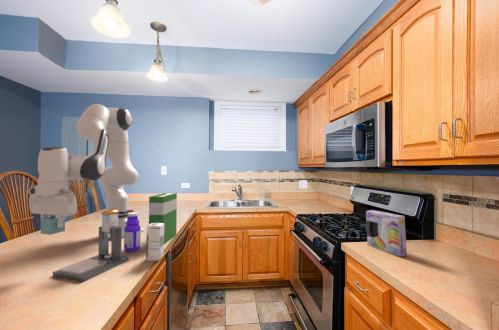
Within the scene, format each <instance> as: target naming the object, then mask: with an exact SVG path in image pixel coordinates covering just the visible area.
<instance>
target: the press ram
mask: <svg viewBox="0 0 499 330" xmlns="http://www.w3.org/2000/svg"><path fill="white" fill-rule="evenodd" d="M118 213H119V210H118V209H110V210H107V209H104V210H101V212H100V215H101V217H102V219H101V220H102V221H101V222H102V223H101V226H102V231H103V232H107V241H109V242H111V233H112V228H114V227H118Z"/></svg>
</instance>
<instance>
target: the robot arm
mask: <svg viewBox="0 0 499 330" xmlns="http://www.w3.org/2000/svg"><path fill="white" fill-rule="evenodd" d="M132 122H133V118H132V114H131V112H130V111H129V110H128V109H126V108H122V107H120V108H117V107H106V106H105V105H103V104H99V103H94V104H90V105H89V106H88V107H87V108H86V109H85V110H84V111H83V113H82V114H81V116H80V117H79V119H78V121H77V123H76V131H77V133H78V134H79V135H80V136H81V137H82V138H83V139H85V140H86V141H89V142H92V143H94V145H93V151H92V153H91V154H89V155H86V156H83V155H81V156H80V155H79V156H78V155H77V156H76V155H73V154H70V153H69V152H68V149H67V148H66V147H64V146H62V145H61V146H60V145H59V146H55V145H54V146H44V147H43V148H41V149H40V151H39V154H38V159H37V172H38V179H37V185H34V186H33V187H30V188H28V195H29V198H28V199H29V200H28V201H29V202H28V205H29V211H30V213H31V214H35V215H37V214H38V215H40V219H41V218H46V217H50V215H56V216H57V218H58V221H57V223H55V227H58V228H60V227H63V222H64V220H65V221H66V219H67V217H71V216H75V215H76V214H77V213H78V203H77V199H76V198H77V197H76V196H75V193H74V192H73V191H72V190H71V189H69V180H73V181H74V180H77V181H78V180H85V181H97V180H98V182H99V183H100V184H101V186H102V188H103V190H104V193H105V198H106V210H110V209H118V210H119V213H118V227H122V230H121V239H122V238H124V229H125V227H126V221H127V219H128V213H131V212H135V209H129V208H130V204H129V203H130V201H129V200H130V197H129V195H128V193H127V192H126V191H125V190H124V187H131V186H133V185H136V184H137V182H138V180H139V176H140V174H139V173H138V172H139V171H137V169H135V167H134V166H133V164H132V161H131V159H130V151H129V150H130V149H129V147H130V145H129V142H130V141H129V133H128V129H129V128H130V127H131V125H132ZM107 158H108V159H109V161H110V162H111V165H112V166H109V167H106V159H107ZM139 226H140V228H141V232H143V231H145V228H144V227H141V222H140V221H139Z"/></svg>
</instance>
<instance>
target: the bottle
mask: <svg viewBox="0 0 499 330" xmlns="http://www.w3.org/2000/svg"><path fill="white" fill-rule="evenodd" d="M138 216H139V215H138V212H135V211H134V212H131V213H128V219H127V221H126V227H125V229H124V237H123V238H124V239H123V249H124V251H126V252H129V253H133V252H137V251H139V250H140V249H141V232H142V231H141V228H142V227H141V225H140V226H139V222H140V221H139V217H138ZM140 227H141V228H140Z"/></svg>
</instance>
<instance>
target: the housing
mask: <svg viewBox="0 0 499 330" xmlns="http://www.w3.org/2000/svg"><path fill="white" fill-rule="evenodd" d="M57 221H58V218H57V215H50V216H49V217H46V218H41V217H40V234H43V235H49V236H50V235H55V234H58V233H63V232H65V231H66V219H65V220H64V222H63V227H60V228H58V227H55V223H57Z"/></svg>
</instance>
